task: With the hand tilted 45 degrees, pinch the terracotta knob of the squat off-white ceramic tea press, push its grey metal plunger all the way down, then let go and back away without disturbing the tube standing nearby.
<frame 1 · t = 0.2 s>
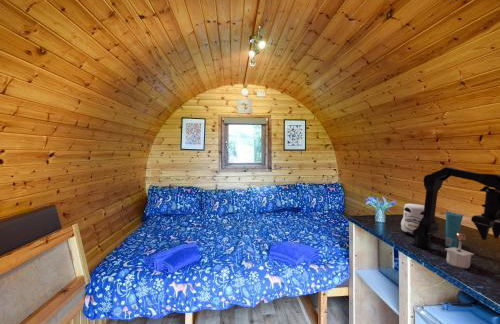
hand: (490, 239, 105), 15 cm above the table, tool pointing down, fingers open, 9 cm apart
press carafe: (457, 264, 112), on the table
milk container: (416, 235, 152), on the table
plunger: (459, 244, 112), point 10 cm above the table, slide at 0.0 cm
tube: (450, 247, 134), on the table
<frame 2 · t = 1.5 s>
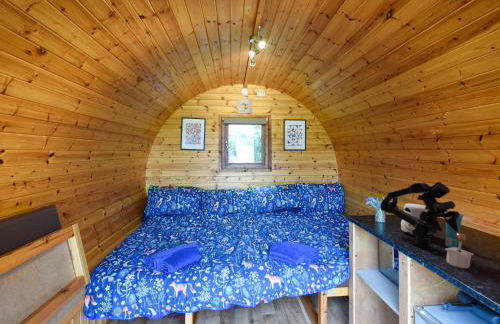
hand: (449, 231, 117), 13 cm above the table, tool tilted 45°, fingers open, 9 cm apart
nothing on the table moved.
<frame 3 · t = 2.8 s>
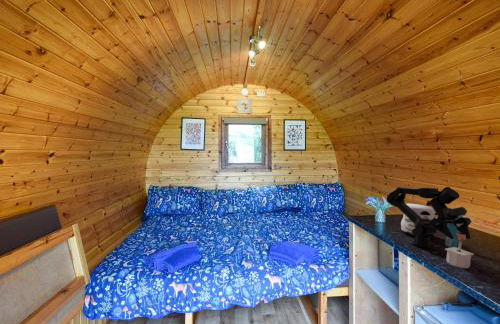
hand: (461, 238, 111), 12 cm above the table, tool tilted 45°, fingers open, 9 cm apart
nothing on the table moved.
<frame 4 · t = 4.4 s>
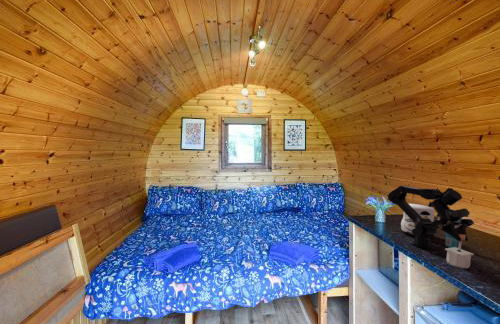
hand: (463, 240, 110), 12 cm above the table, tool tilted 45°, fingers closed on plunger, 3 cm apart
plunger: (459, 244, 112), point 10 cm above the table, slide at 0.0 cm, touching gripper
everything else where it was.
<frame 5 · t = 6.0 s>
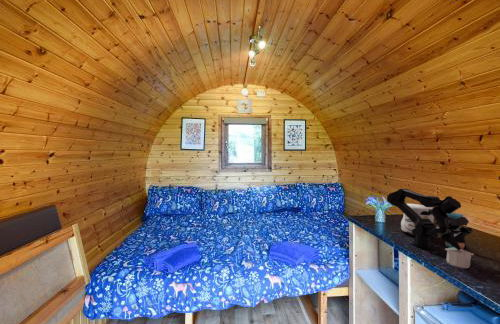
hand: (462, 249, 110), 8 cm above the table, tool tilted 45°, fingers closed on plunger, 3 cm apart
plunger: (458, 252, 112), point 6 cm above the table, slide at -4.0 cm, touching gripper
everything else where it was.
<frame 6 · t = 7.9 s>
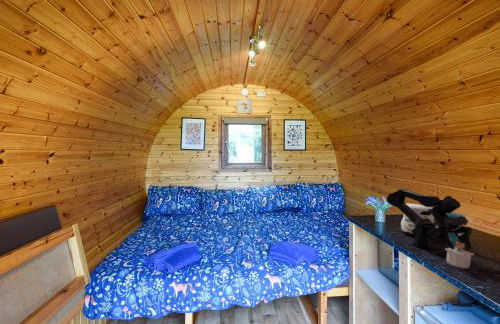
hand: (462, 249, 111), 8 cm above the table, tool tilted 45°, fingers open, 9 cm apart
plunger: (458, 252, 112), point 6 cm above the table, slide at -4.0 cm
everything else where it was.
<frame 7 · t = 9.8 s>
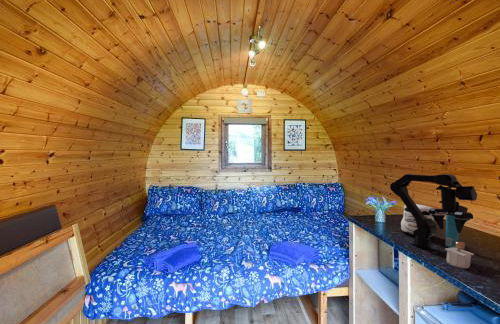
hand: (450, 230, 120), 13 cm above the table, tool pointing down, fingers open, 9 cm apart
nothing on the table moved.
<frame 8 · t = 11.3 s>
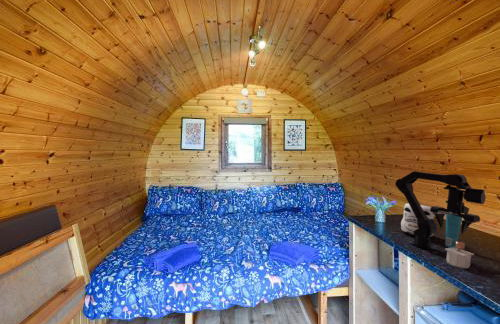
hand: (451, 230, 120), 13 cm above the table, tool pointing down, fingers open, 9 cm apart
nothing on the table moved.
at the end: plunger slide at -4.0 cm; the gripper is holding nothing; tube moved 0.2 cm from its start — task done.
